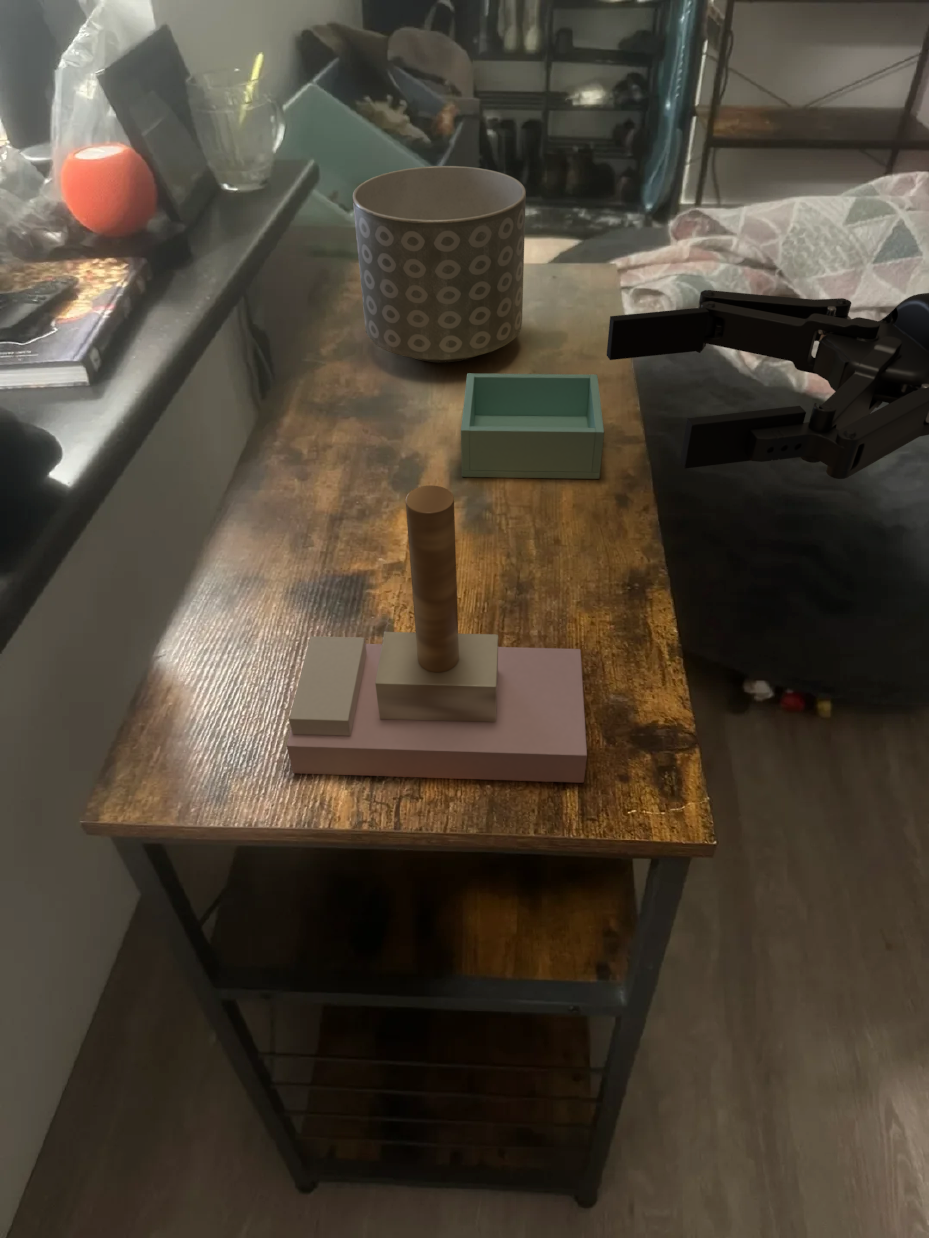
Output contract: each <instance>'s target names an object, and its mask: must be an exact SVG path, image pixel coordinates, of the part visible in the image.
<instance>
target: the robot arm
mask: <svg viewBox="0 0 929 1238" xmlns="http://www.w3.org/2000/svg"><path fill="white" fill-rule="evenodd" d="M851 307H852V301H851V300H849V299H847V298H845V297H844V298H843V297H841V298H840V297H839V298H816V299H815V298H814V299H813V298H801V297H792V296H791V297H790V296H780V295H779V296H778V295H769V294H768V295H767V294H757V293H745V292H734V291H722V290H712V289H705V290H702V291H701V292H700V293H699V300H698V305H697V307H692V308H682V309H681V308H680V309H672V310H662V311H661V310H660V311H651V312H650V311H649V312H641V313H631V314H630V313H628V314H618V315H610V316H609V324H608V336H607V343H606V344H607V347H606V357H607V359H608V360H609V361H615V360H625V359H635V358H645V357H655V356H664V355H672V354H673V355H675V354H682V353H683V354H684V353H692V352H696V353H699V354H701V353H702V351H703V350H704V349H705V348H706V346H707V345H711V346H717V347H721V348H726V349H731V350H735V351H740V352H745V353H750V354H753V355H759V356H763V357H768V358H773V359H778V360H782V361H788V362H792V363H793V366H794V368H795V369H796V370H797V371H799V372H800V371H801V372H805V373H810V374H812V375H813V374H814V375H817V376H818V377H820V378H822V379H823V380H826V381H827V382H828V385H829V386H830V388H831V389H832V390H833V391H834V392H833V393H832V394H831V395H830V396H829V397H828V398H827V399H826V400H825V401H824V402H823V403H822V404H821V403H820V404H819V405H818V406H817V404H818V403H817V402H814V404H813V406H812V409H811V414H810V418H809V421H807V422H805V419H806V414H807V411H806V410H805V409H804V408H803V407H802V406H801V405H793V406H785V407H784V406H783V407H778V408H777V407H775V408H766V409H758V410H757V409H756V410H749V411H741V412H740V411H739V412H732V413H731V412H730V413H724V414H723V413H722V414H714V415H704V416H696V417H688V418H686V423H685V430H684V435H683V441H682V446H681V453H680V458H679V463H680V464H681V466H682V467H683V468H684V469H693V468H700V467H709V466H718V465H726V464H733V463H744V462H759V463H764V462H771V461H778V460H781V461H782V460H788V459H789V460H790V459H797V458H800V459H801V460H803V461H804V462H807V463H811V464H813V463H814V464H816V463H823V464H824V465H826V466H827V467H826V470H825V471H826V472H825V473H826V474H827V475H828V476H829V477H830V478H833V479H837V480H845V479H847V478H850V477H851V476H853V475H855V474H856V473H858V472H861V471H862V470H863V469H865V468H867V467H869V466H871V465H872V464H874V463H876V462H877V461H879V460H881V459H883V458H885V457H886V456H888V455H890V454H892V453H894V452H895V451H897V450H899V449H900V448H902V447H904V446H905V445H907V444H909V443H911V442H912V441H914V440H916V439H918V438H920V437H925V436H929V292H925V293H917V294H913V295H911V296H909V297H907V298H905V299H903V300H902V301H901V302H899V304H897V305H896V306H895V307H894V308H893V310H891V311H890V312H889V313H888V314H887V315H886V316H884V317H883V318H881V319H879V320H875V319H870V318H865V317H861V316H859V317H858V316H857V317H853V318H852V317H850V315H849V313H850V310H851ZM815 342H818V344H817V349H816V353H815V356H813V355H812V354H813V349H814V346H815ZM883 403H886V405H883V406H882V407H880V406H881V405H882V404H883ZM879 407H880V408H879ZM875 409H876V410H875ZM874 410H875V411H874Z"/></svg>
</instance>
